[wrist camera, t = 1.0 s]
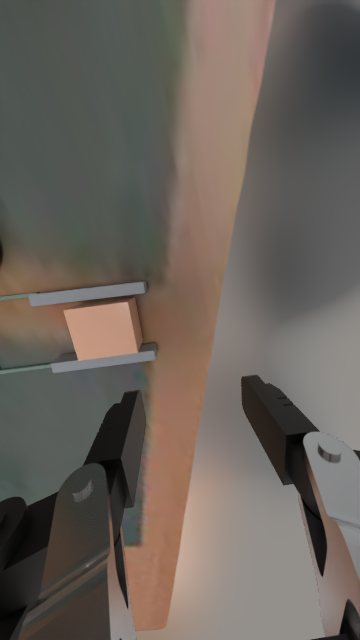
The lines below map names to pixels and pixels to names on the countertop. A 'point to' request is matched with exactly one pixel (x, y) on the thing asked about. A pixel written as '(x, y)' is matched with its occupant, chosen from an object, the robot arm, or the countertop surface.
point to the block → (105, 328)
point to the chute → (70, 360)
